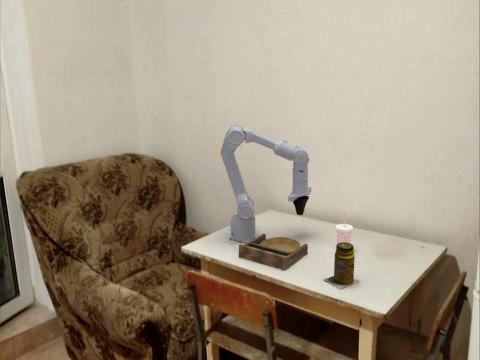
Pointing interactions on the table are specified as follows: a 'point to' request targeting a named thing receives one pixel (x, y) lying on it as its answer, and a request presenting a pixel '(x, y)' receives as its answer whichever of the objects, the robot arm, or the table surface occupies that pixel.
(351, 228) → the beverage cup
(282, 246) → the plant saucer
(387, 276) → the table surface
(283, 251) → the pusher plate
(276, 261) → the brown wooden open box
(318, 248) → the table surface
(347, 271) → the condiment
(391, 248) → the table surface
